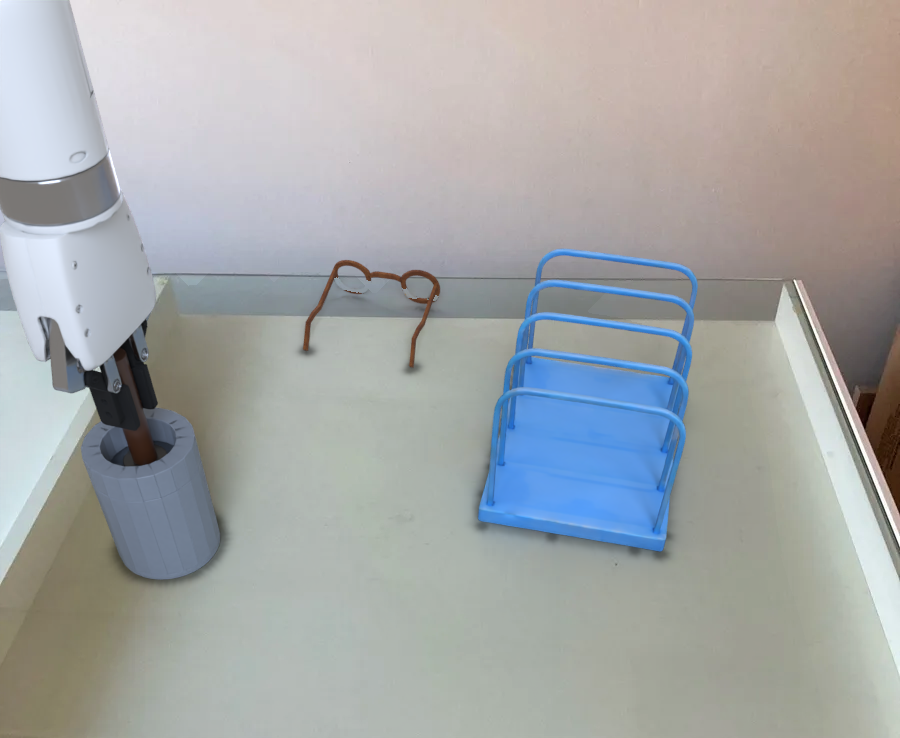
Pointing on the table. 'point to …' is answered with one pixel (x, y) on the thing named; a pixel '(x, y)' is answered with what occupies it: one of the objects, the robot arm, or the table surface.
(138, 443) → the brown and grey pestle
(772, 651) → the table surface
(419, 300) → the glasses
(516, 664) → the table surface
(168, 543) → the pen holder
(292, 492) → the table surface
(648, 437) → the file sorter
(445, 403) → the table surface
